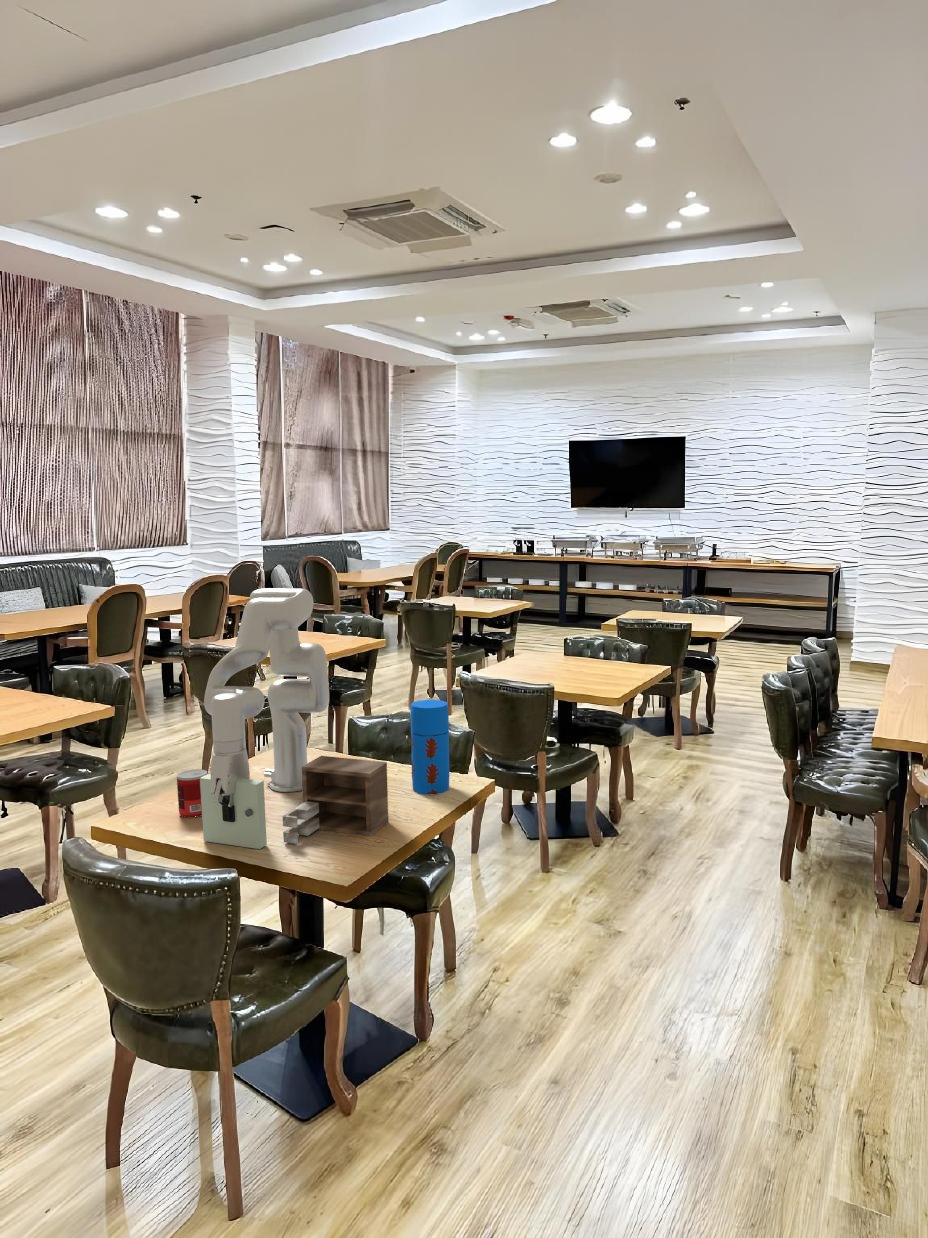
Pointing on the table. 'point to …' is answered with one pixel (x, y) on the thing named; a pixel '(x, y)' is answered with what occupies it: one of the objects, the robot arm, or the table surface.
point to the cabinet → (340, 798)
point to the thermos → (430, 746)
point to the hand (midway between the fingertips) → (233, 818)
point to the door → (247, 815)
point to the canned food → (190, 792)
